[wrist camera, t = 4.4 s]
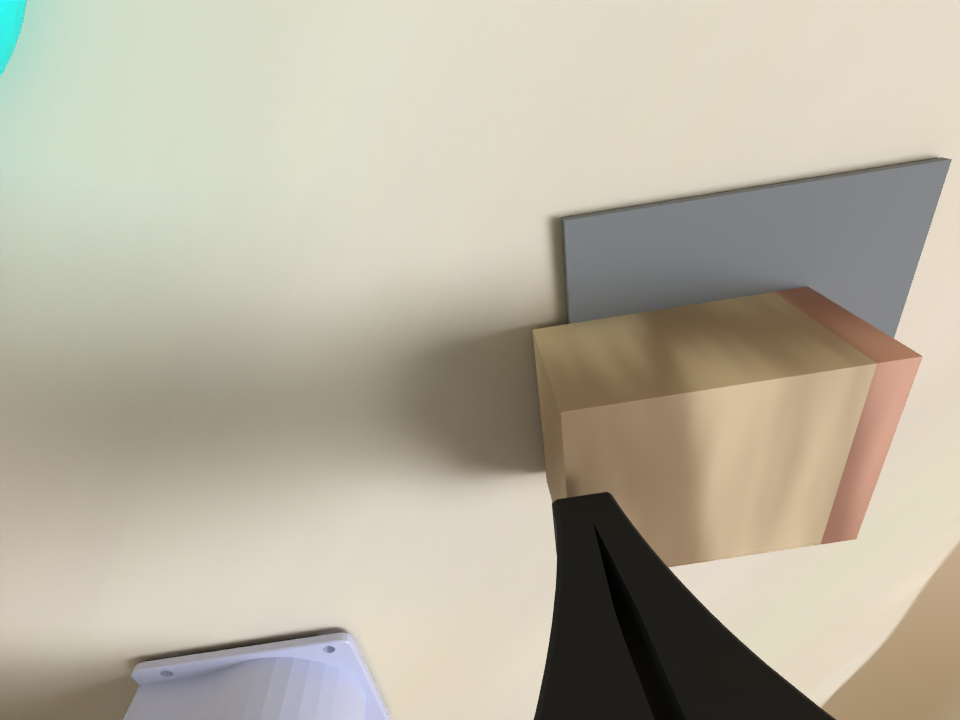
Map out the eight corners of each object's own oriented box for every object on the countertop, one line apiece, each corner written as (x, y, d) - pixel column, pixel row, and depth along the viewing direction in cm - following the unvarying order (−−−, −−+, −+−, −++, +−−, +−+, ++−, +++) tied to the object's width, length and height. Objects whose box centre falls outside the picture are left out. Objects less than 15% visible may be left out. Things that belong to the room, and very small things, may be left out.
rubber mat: (579, 527, 19) (581, 533, 19) (562, 217, 13) (564, 220, 13) (838, 487, 19) (843, 493, 19) (941, 157, 13) (951, 159, 13)
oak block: (572, 581, 14) (856, 539, 14) (560, 412, 11) (922, 356, 11) (546, 480, 18) (774, 445, 18) (532, 329, 15) (808, 286, 14)
